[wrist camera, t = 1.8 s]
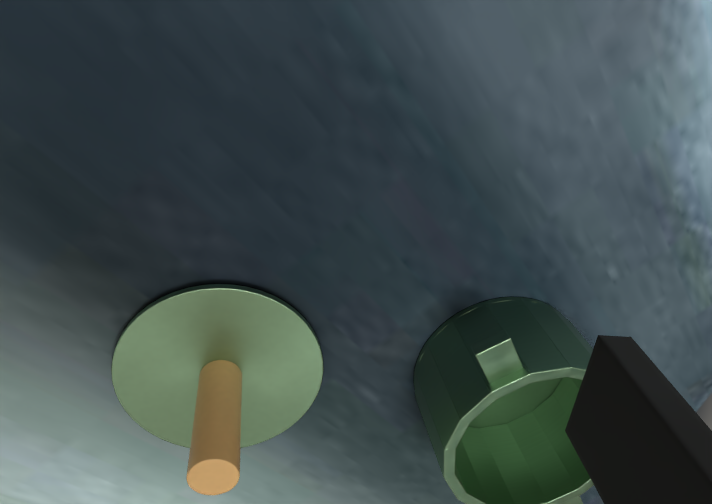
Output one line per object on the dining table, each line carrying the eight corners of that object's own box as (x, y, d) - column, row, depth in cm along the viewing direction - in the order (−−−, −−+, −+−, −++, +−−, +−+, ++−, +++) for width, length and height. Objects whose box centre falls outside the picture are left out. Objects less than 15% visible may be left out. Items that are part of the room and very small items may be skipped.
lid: (192, 465, 46) (177, 589, 38) (68, 340, 39) (14, 456, 30) (354, 386, 45) (379, 495, 36) (257, 242, 38) (259, 334, 29)
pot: (459, 469, 52) (493, 557, 44) (371, 322, 42) (396, 402, 35) (598, 405, 51) (657, 484, 43) (539, 239, 41) (601, 303, 34)
